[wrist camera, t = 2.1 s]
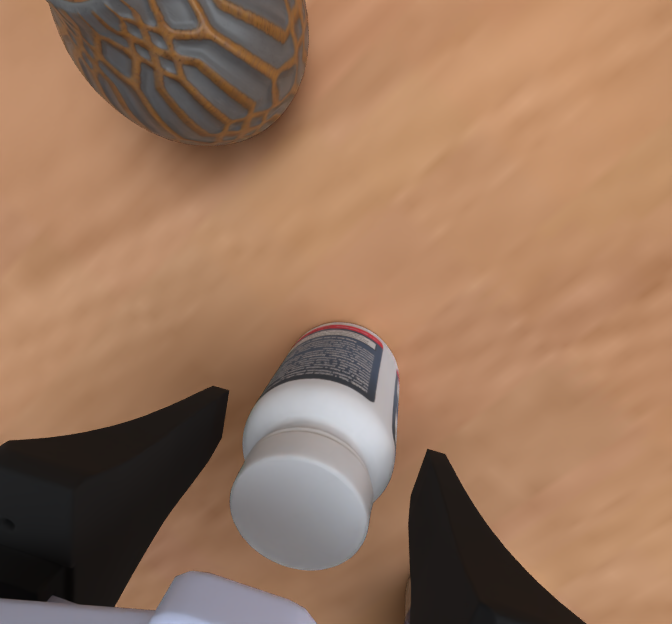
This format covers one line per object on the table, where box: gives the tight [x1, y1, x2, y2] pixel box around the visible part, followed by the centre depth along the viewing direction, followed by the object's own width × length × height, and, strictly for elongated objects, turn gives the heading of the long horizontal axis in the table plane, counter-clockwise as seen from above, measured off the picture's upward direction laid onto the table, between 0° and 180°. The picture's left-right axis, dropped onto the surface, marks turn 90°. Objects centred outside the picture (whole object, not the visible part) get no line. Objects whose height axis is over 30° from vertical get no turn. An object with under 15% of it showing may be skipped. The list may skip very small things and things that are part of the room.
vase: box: [46, 0, 309, 146], centre depth 13 cm, size 7×7×9 cm
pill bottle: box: [230, 322, 399, 570], centre depth 16 cm, size 5×5×9 cm
